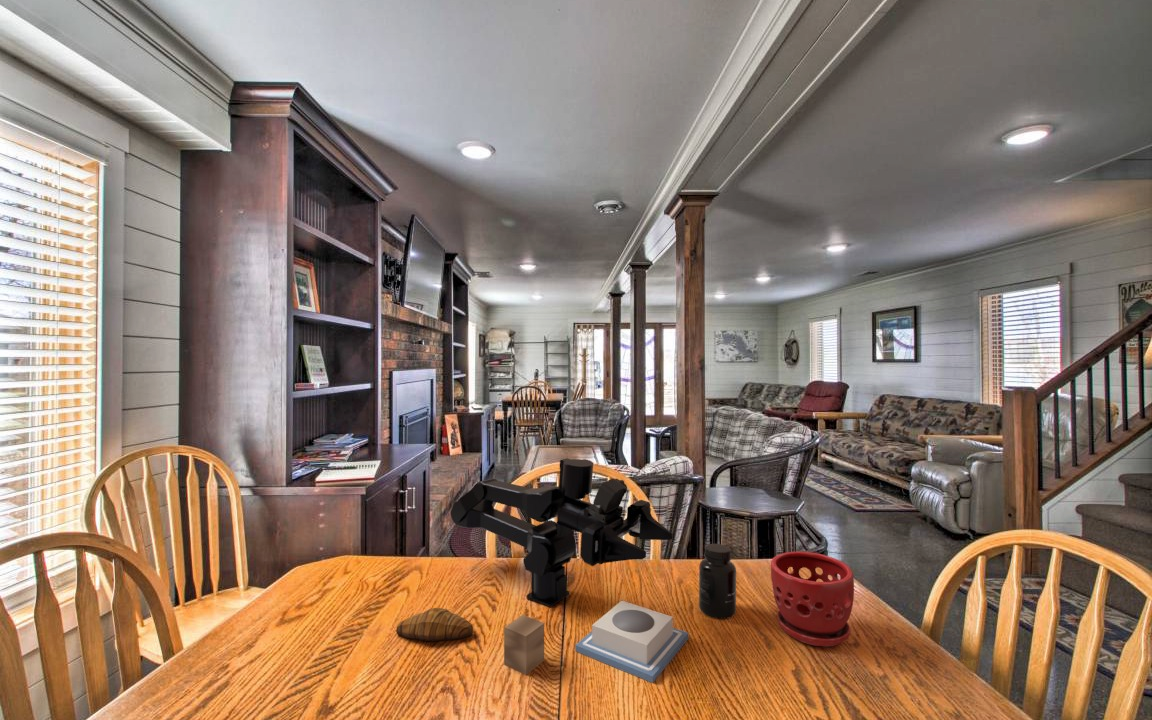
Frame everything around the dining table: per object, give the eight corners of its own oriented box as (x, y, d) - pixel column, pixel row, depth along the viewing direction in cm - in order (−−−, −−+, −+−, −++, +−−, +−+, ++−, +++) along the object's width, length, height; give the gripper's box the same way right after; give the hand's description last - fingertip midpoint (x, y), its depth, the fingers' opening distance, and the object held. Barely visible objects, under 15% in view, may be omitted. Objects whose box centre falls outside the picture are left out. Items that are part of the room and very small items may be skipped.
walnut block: (504, 665, 78) (504, 627, 78) (522, 650, 81) (522, 614, 81) (525, 675, 75) (525, 636, 75) (544, 660, 79) (544, 623, 79)
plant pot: (780, 606, 96) (780, 544, 96) (857, 627, 88) (858, 560, 88) (762, 637, 85) (762, 568, 85) (848, 665, 77) (848, 589, 77)
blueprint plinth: (575, 651, 81) (575, 626, 81) (617, 614, 93) (617, 592, 93) (652, 683, 73) (652, 655, 73) (688, 638, 85) (688, 614, 85)
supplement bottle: (738, 622, 90) (738, 556, 90) (699, 618, 91) (699, 553, 91) (734, 603, 97) (734, 542, 97) (698, 600, 98) (698, 540, 98)
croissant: (388, 647, 83) (388, 617, 83) (404, 625, 90) (404, 597, 90) (467, 649, 82) (467, 619, 82) (477, 626, 89) (477, 599, 89)
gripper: (556, 489, 85) (633, 515, 76) (616, 466, 100) (687, 486, 90) (553, 550, 86) (628, 584, 77) (613, 519, 101) (683, 544, 91)
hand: (659, 545), depth 84 cm, fingers open, 9 cm apart
